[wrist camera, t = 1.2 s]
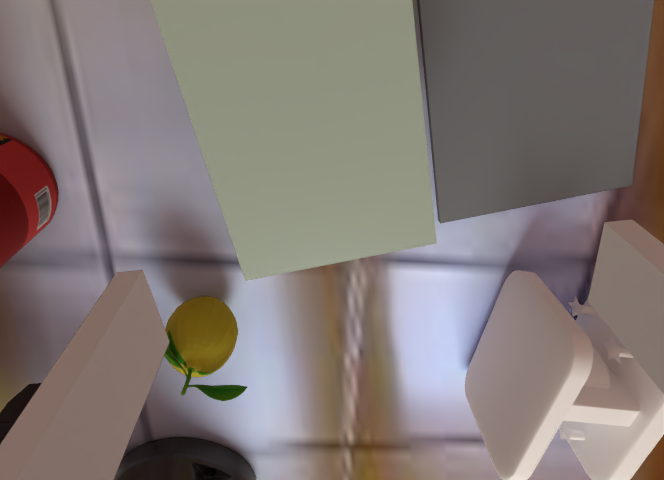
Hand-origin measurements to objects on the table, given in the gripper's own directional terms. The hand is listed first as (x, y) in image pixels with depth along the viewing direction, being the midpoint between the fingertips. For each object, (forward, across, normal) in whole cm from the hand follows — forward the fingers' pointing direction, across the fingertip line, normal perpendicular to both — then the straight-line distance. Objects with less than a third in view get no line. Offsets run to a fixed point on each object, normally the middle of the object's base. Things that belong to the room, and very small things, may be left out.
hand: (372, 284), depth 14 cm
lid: (+16, +2, -1) cm, 16 cm away
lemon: (+21, +13, +16) cm, 29 cm away
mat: (+22, -13, 0) cm, 26 cm away
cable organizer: (+22, -16, +22) cm, 35 cm away
